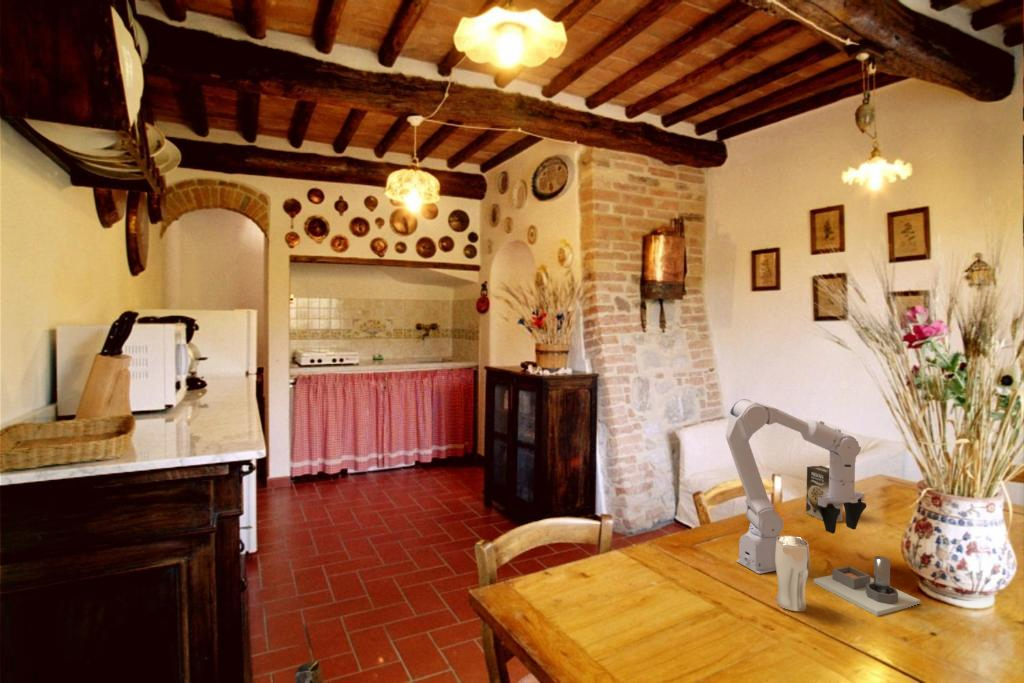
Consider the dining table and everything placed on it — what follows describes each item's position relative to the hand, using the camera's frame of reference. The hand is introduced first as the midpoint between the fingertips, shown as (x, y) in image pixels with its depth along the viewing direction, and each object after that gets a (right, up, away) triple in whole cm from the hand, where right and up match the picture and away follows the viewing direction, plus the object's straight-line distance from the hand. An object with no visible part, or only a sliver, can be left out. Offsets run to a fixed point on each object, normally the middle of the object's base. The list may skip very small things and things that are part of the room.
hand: (840, 530), depth 141 cm
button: (-4, -9, -10) cm, 14 cm away
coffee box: (+17, -9, +36) cm, 41 cm away
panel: (-2, -10, -13) cm, 17 cm away
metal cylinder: (-1, -10, -17) cm, 20 cm away
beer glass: (-23, -11, -19) cm, 31 cm away
